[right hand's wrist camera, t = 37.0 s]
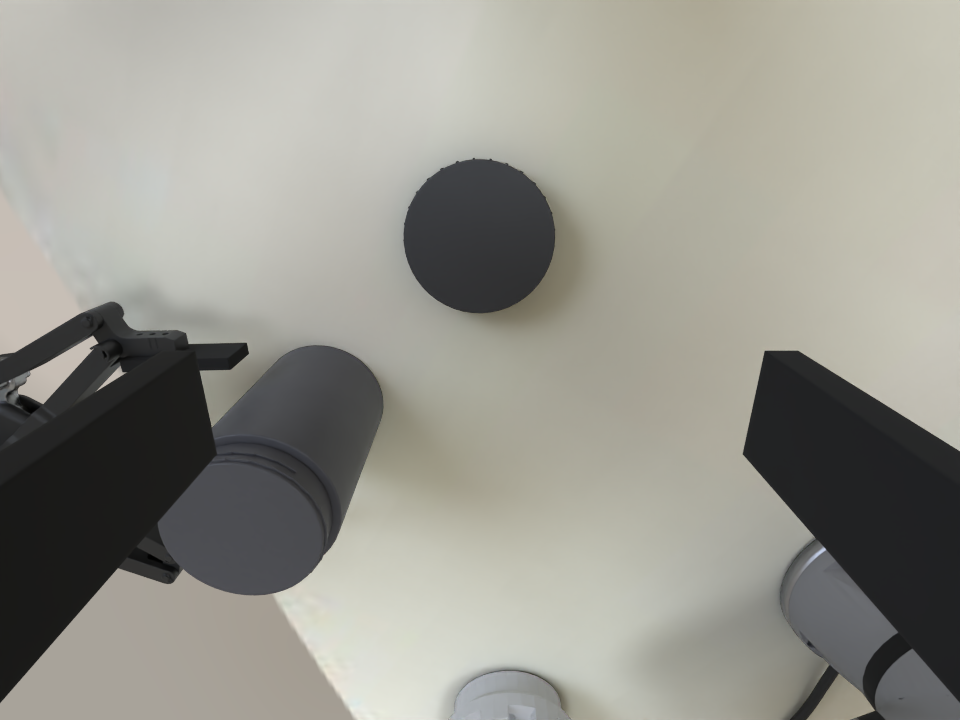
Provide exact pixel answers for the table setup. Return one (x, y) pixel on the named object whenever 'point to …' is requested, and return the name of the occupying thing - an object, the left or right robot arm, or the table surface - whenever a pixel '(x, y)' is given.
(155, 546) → the left robot arm
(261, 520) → the jar
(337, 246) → the table surface
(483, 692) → the flag stand
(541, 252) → the lid
